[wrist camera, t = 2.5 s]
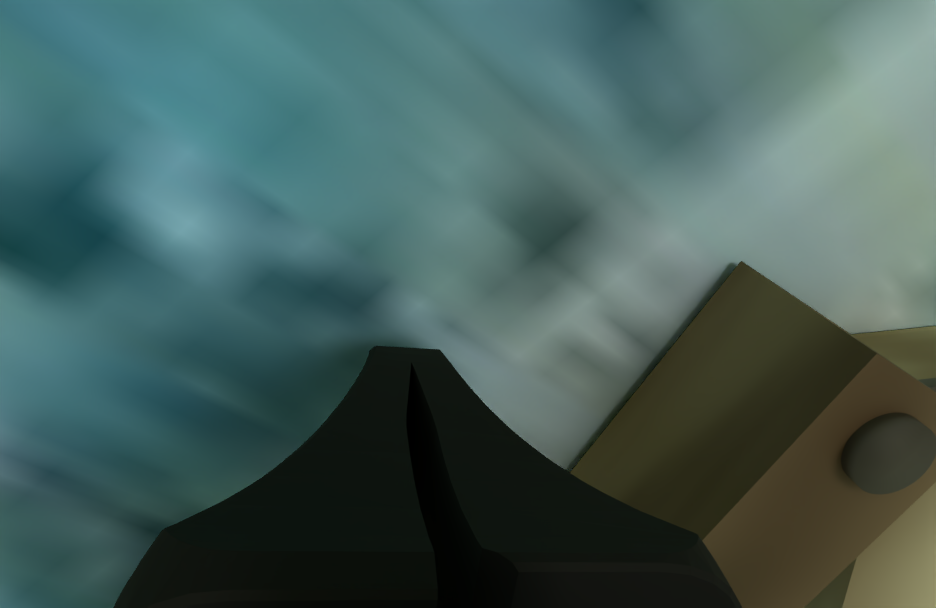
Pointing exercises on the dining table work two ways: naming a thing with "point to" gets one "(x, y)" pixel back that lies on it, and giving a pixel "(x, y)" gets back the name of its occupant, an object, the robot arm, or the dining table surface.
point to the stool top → (916, 531)
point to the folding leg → (771, 442)
